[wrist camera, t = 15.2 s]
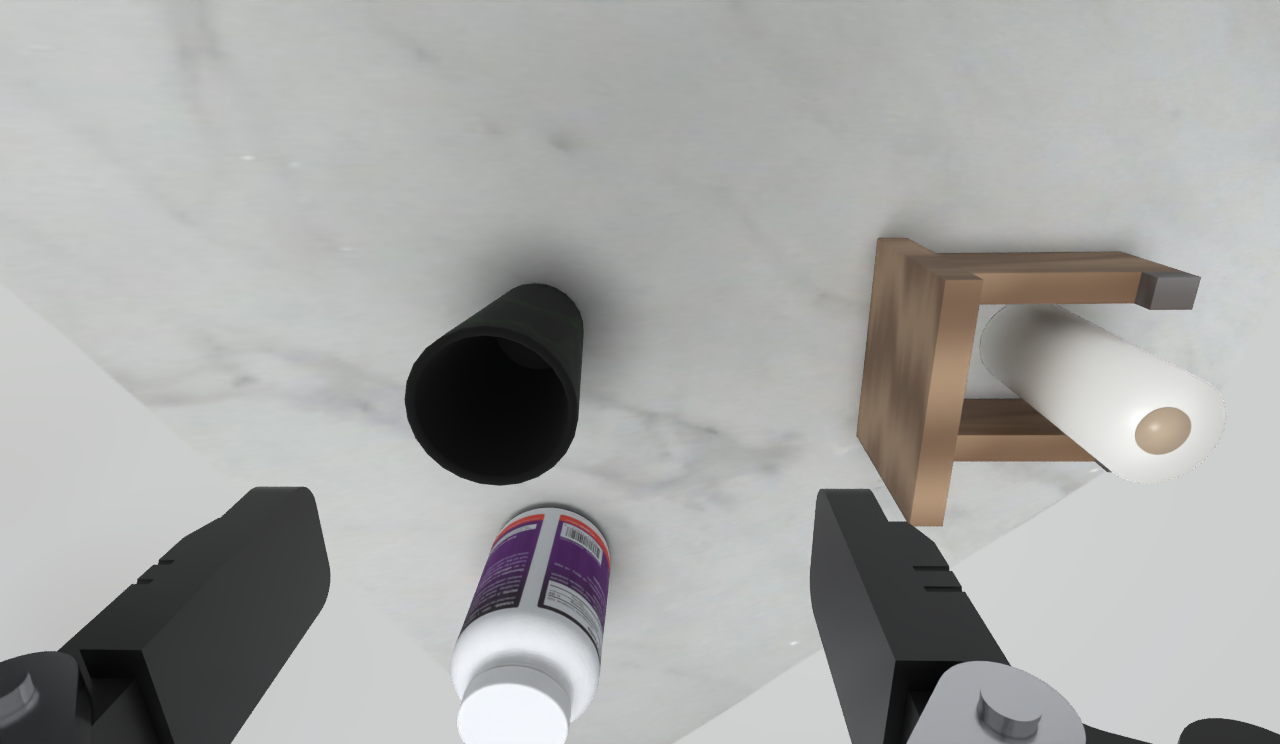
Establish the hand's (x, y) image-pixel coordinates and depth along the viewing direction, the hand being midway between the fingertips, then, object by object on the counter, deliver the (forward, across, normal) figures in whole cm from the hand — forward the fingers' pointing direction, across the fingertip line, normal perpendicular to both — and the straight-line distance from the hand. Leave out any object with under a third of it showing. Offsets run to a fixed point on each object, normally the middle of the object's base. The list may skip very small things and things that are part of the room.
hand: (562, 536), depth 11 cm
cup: (+30, +6, +6) cm, 31 cm away
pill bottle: (+30, +6, +22) cm, 38 cm away
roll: (+30, -23, +7) cm, 39 cm away
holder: (+30, -20, +7) cm, 37 cm away
